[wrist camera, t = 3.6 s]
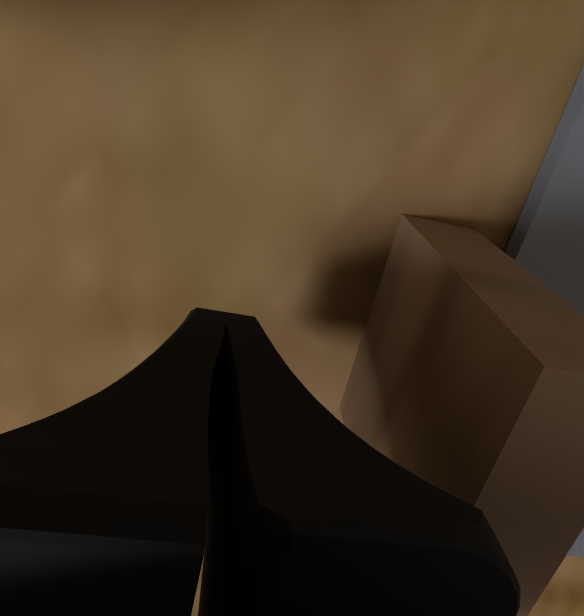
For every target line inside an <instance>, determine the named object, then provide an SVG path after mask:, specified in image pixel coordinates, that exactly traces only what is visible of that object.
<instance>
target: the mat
mask: <svg viewBox="0 0 584 616" xmlns="http://www.w3.org/2000/svg"><path fill="white" fill-rule="evenodd" d="M504 253H506V254H507V255H508V256H509V257H511V258H512V259H513V260H515V261H516V262H517V263H518V264H520V265H521V266H522V267H523V268H525V269H526V270H527V271H528V272H530V273H531V274H532V275H533V276H535V277H536V278H537V279H538V280H540V281H541V282H542V283H544V284H545V285H546V286H547V287H549V288H550V289H551V290H552V291H554V292H555V293H556V294H557V295H559V296H560V297H561V298H562V299H564V300H565V301H566V302H567V303H569V304H570V305H571V306H572V307H574V308H575V309H576V310H578V311H579V312H580V313H581V314H583V315H584V65H583V67H582V70H581V72H580V75H579V77H578V79H577V82H576V84H575V86H574V89H573V91H572V94H571V96H570V98H569V101H568V103H567V105H566V108H565V110H564V113H563V115H562V117H561V120H560V122H559V124H558V127H557V129H556V131H555V134H554V136H553V139H552V141H551V143H550V146H549V148H548V150H547V153H546V155H545V158H544V160H543V162H542V165H541V167H540V169H539V172H538V174H537V177H536V179H535V181H534V184H533V186H532V188H531V191H530V193H529V196H528V198H527V200H526V203H525V205H524V207H523V210H522V212H521V214H520V217H519V219H518V222H517V224H516V226H515V229H514V231H513V233H512V236H511V238H510V241H509V243H508V245H507V248H506V250H505V252H504ZM567 555H568V556H579V557H584V528H583V530H582V531H581V533H580V535H579V536H578V538H577V539H576V541H575V542H574V544H573V545H572V547H571V548H570V550H569V552H568V553H567Z"/></svg>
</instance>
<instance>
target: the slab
mask: <svg viewBox="0 0 584 616" xmlns="http://www.w3.org/2000/svg"><path fill="white" fill-rule="evenodd" d="M340 409H341V413H342V417H343V421H344V425H345V426H346V427H347V428H348V429H349V430H351V431H352V432H353V433H355V434H356V435H357V436H359V437H360V438H361V439H362V440H364V441H365V442H366V443H368V444H369V445H370V446H372V447H373V448H374V449H376V450H377V451H379V452H380V453H382V454H383V455H385V456H386V457H388V458H389V459H390V460H392V461H393V462H395V463H397V464H398V465H400V466H402V467H403V468H405V469H406V470H408V471H410V472H411V473H413V474H415V475H416V476H418V477H419V478H421V479H423V480H425V481H426V482H428V483H430V484H432V485H434V486H436V487H438V488H440V489H442V490H444V491H445V492H447V493H449V494H451V495H453V496H455V497H457V498H459V499H461V500H463V501H465V502H467V503H469V504H471V505H473V506H474V507H476V508H478V509H480V510H482V512H483V514H484V515H485V517H486V519H487V520H488V522H489V524H490V526H491V528H492V529H493V531H494V533H495V535H496V537H497V539H498V540H499V542H500V544H501V546H502V548H503V550H504V552H505V554H506V556H507V558H508V560H509V562H510V564H511V566H512V568H513V571H514V573H515V575H516V578H517V580H518V583H519V585H520V588H521V593H520V608H519V611H518V613H517V615H516V616H527V615H528V614H529V612H530V611H531V609H532V607H533V606H534V604H535V603H536V601H537V600H538V598H539V597H540V595H541V594H542V592H543V590H544V589H545V587H546V586H547V584H548V583H549V581H550V580H551V578H552V576H553V575H554V573H555V572H556V570H557V569H558V567H559V566H560V564H561V562H562V561H563V559H564V558H565V556H566V555H567V553H568V552H569V550H570V548H571V547H572V545H573V544H574V542H575V541H576V539H577V538H578V536H579V535H580V533H581V531H582V530H583V528H584V315H583V314H581V313H580V312H579V311H578V310H576V309H575V308H574V307H572V306H571V305H570V304H569V303H567V302H566V301H565V300H564V299H562V298H561V297H560V296H559V295H557V294H556V293H555V292H554V291H552V290H551V289H550V288H549V287H547V286H546V285H545V284H544V283H542V282H541V281H540V280H538V279H537V278H536V277H535V276H533V275H532V274H531V273H530V272H528V271H527V270H526V269H525V268H523V267H522V266H521V265H520V264H518V263H517V262H516V261H515V260H513V259H512V258H511V257H509V256H508V255H507V254H506V253H504V252H503V251H502V250H501V249H499V248H498V247H497V246H496V245H494V244H493V243H492V242H491V241H489V240H488V239H487V238H486V237H484V236H483V235H482V234H481V233H479V232H478V231H477V230H475V229H472V228H467V227H462V226H458V225H453V224H448V223H443V222H438V221H433V220H429V219H424V218H419V217H414V216H409V215H404V214H402V215H401V218H400V221H399V224H398V227H397V230H396V234H395V237H394V240H393V243H392V246H391V249H390V252H389V255H388V258H387V261H386V265H385V268H384V271H383V274H382V277H381V280H380V283H379V286H378V289H377V292H376V296H375V299H374V302H373V305H372V308H371V311H370V314H369V317H368V320H367V324H366V327H365V330H364V333H363V336H362V339H361V342H360V345H359V348H358V351H357V355H356V358H355V361H354V364H353V367H352V370H351V373H350V376H349V379H348V382H347V386H346V389H345V392H344V395H343V398H342V401H341V404H340Z"/></svg>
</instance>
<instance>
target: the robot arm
mask: <svg viewBox="0 0 584 616" xmlns="http://www.w3.org/2000/svg"><path fill="white" fill-rule="evenodd" d="M204 549H205V552H204ZM203 556H204V562H203V572H202V582H201V592H200V601H199V611H198V616H516V615H517V613H518V611H519V608H520V593H521V588H520V585H519V583H518V580H517V578H516V575H515V573H514V571H513V568H512V566H511V564H510V562H509V560H508V558H507V556H506V554H505V552H504V550H503V548H502V546H501V544H500V542H499V540H498V539H497V537H496V535H495V533H494V531H493V529H492V528H491V526H490V524H489V522H488V520H487V519H486V517H485V515H484V514H483V512H482V510H480V509H478V508H476V507H474V506H473V505H471V504H469V503H467V502H465V501H463V500H461V499H459V498H457V497H455V496H453V495H451V494H449V493H447V492H445V491H444V490H442V489H440V488H438V487H436V486H434V485H432V484H430V483H428V482H426V481H425V480H423V479H421V478H419V477H418V476H416V475H415V474H413V473H411V472H410V471H408V470H406V469H405V468H403V467H402V466H400V465H398V464H397V463H395V462H393V461H392V460H390V459H389V458H388V457H386V456H385V455H383V454H382V453H380V452H379V451H377V450H376V449H374V448H373V447H372V446H370V445H369V444H368V443H366V442H365V441H364V440H362V439H361V438H360V437H359V436H357V435H356V434H355V433H353V432H352V431H351V430H349V429H348V428H347V427H346V426H345V425H344V424H342V423H341V422H340V421H339V420H338V419H336V418H335V417H334V416H333V415H332V414H331V413H330V412H329V411H328V410H327V409H326V408H325V407H324V406H323V405H322V404H321V403H319V402H318V401H317V400H316V398H315V397H314V396H313V395H312V394H311V393H310V392H309V391H308V390H307V389H306V388H305V387H304V385H303V384H302V383H301V382H300V381H299V380H298V378H297V377H296V376H295V375H294V374H293V372H292V371H291V370H290V369H289V367H288V366H287V365H286V363H285V362H284V361H283V359H282V358H281V356H280V355H279V354H278V352H277V351H276V349H275V348H274V346H273V345H272V343H271V341H270V340H269V338H268V337H267V335H266V334H265V332H264V330H263V329H262V327H261V325H260V324H259V322H258V321H257V319H256V318H255V317H253V316H247V315H241V314H234V313H228V312H222V311H215V310H209V309H203V308H195V309H194V310H192V311H190V313H189V315H188V316H187V318H186V319H185V321H184V322H183V323H182V324H181V325H180V327H179V328H178V329H177V330H176V331H175V332H174V333H173V334H172V335H171V336H170V337H169V338H168V339H167V340H166V341H165V342H164V343H163V344H162V345H161V346H160V347H159V348H158V349H157V350H156V351H155V352H154V353H153V354H151V355H150V356H149V357H148V358H147V359H145V360H144V361H143V362H142V363H141V364H139V365H138V366H137V367H136V368H134V369H133V370H132V371H130V372H129V373H128V374H126V375H125V376H124V377H122V378H121V379H119V380H118V381H116V382H115V383H113V384H112V385H110V386H108V387H107V388H105V389H104V390H102V391H100V392H99V393H97V394H95V395H93V396H91V397H89V398H87V399H85V400H83V401H81V402H79V403H77V404H75V405H73V406H71V407H69V408H67V409H65V410H63V411H60V412H58V413H56V414H53V415H51V416H49V417H46V418H44V419H41V420H39V421H36V422H33V423H31V424H28V425H25V426H23V427H20V428H17V429H14V430H11V431H8V432H5V433H2V434H0V616H191V612H192V608H193V603H194V598H195V594H196V589H197V584H198V580H199V575H200V570H201V565H202V561H203Z"/></svg>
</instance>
